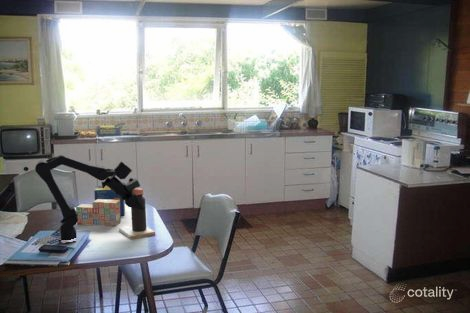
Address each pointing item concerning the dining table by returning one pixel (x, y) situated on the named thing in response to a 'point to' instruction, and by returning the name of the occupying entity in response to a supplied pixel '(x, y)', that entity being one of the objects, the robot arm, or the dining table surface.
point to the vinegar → (139, 212)
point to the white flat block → (135, 235)
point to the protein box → (109, 197)
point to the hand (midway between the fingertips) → (141, 207)
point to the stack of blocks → (99, 213)
